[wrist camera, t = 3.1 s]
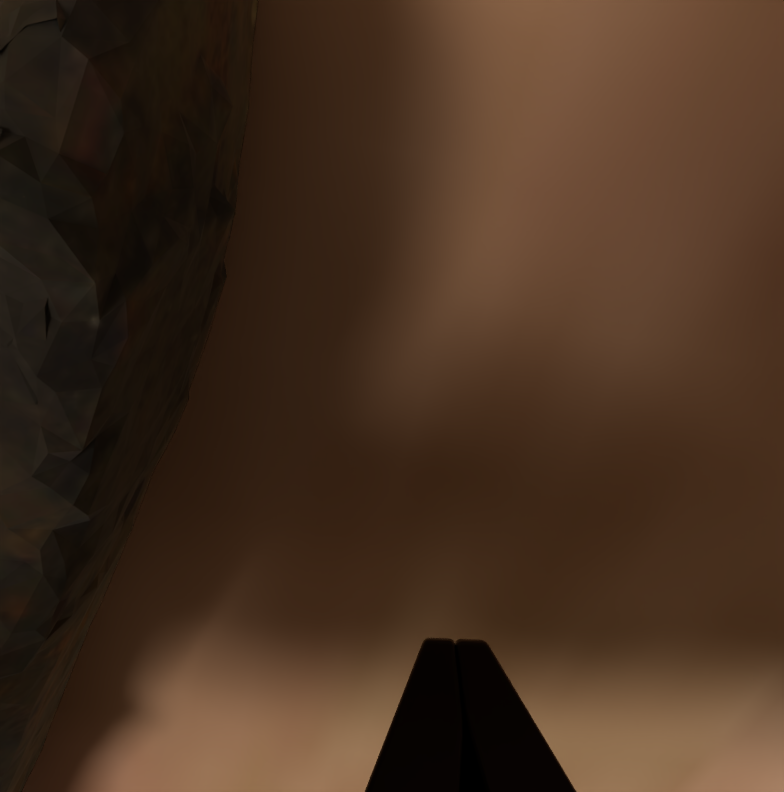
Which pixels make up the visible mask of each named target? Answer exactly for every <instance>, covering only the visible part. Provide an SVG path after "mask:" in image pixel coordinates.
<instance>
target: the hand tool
mask: <svg viewBox="0 0 784 792" xmlns="http://www.w3.org/2000/svg"><path fill="white" fill-rule="evenodd" d="M257 5H258V0H0V792H22V790H23V787H24V785H25V783H26V780H27V778H28V776H29V775H30V773H31V771H32V769H33V767H34V765H35V763H36V761H37V758H38V756H39V754H40V752H41V750H42V748H43V745H44V742H45V739H46V736H47V733H48V731H49V728H50V725H51V722H52V720H53V717H54V715H55V712H56V710H57V707H58V705H59V702H60V700H61V697H62V695H63V692H64V690H65V687H66V685H67V682H68V680H69V677H70V675H71V672H72V669H73V667H74V664H75V662H76V659H77V657H78V654H79V652H80V649H81V647H82V644H83V641H84V639H85V636H86V634H87V631H88V628H89V626H90V624H91V622H92V620H93V618H94V616H95V614H96V612H97V610H98V608H99V607H100V604H101V602H102V600H103V597H104V595H105V592H106V590H107V588H108V585H109V583H110V580H111V578H112V576H113V573H114V571H115V568H116V566H117V563H118V561H119V558H120V556H121V553H122V551H123V548H124V546H125V543H126V541H127V538H128V536H129V534H130V532H131V531H132V528H133V525H134V522H135V519H136V517H137V514H138V511H139V509H140V506H141V504H142V501H143V498H144V496H145V493H146V490H147V487H148V484H149V481H150V479H151V476H152V473H153V471H154V469H155V467H156V465H157V464H158V462H159V460H160V458H161V456H162V455H163V453H164V451H165V449H166V447H167V445H168V443H169V442H170V440H171V438H172V436H173V434H174V432H175V430H176V428H177V425H178V423H179V420H180V418H181V416H182V413H183V411H184V409H185V406H186V404H187V401H188V399H189V388H190V385H191V382H192V380H193V377H194V375H195V372H196V369H197V366H198V363H199V360H200V358H201V355H202V352H203V349H204V346H205V343H206V340H207V338H208V335H209V331H210V328H211V325H212V321H213V318H214V314H215V311H216V308H217V304H218V301H219V298H220V295H221V291H222V288H223V285H224V282H225V279H226V276H227V275H226V269H225V263H224V257H225V252H226V246H227V243H228V240H229V238H230V233H231V227H232V222H233V217H234V215H235V208H236V197H237V185H238V174H239V163H240V156H241V150H242V144H243V137H244V131H245V125H246V119H247V113H248V107H249V92H250V76H251V61H252V47H253V39H254V30H255V22H256V14H257Z"/></svg>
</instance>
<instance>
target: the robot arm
mask: <svg viewBox="0 0 784 792" xmlns="http://www.w3.org/2000/svg"><path fill="white" fill-rule="evenodd" d="M365 792H576V790H575V789H574V787H573V785H572V784H571V782H570V780H569V779H568V777H567V775H566V774H565V772H564V770H563V769H562V767H561V765H560V764H559V762H558V760H557V759H556V757H555V755H554V754H553V752H552V750H551V749H550V747H549V745H548V744H547V742H546V740H545V739H544V737H543V735H542V734H541V732H540V730H539V729H538V727H537V725H536V724H535V722H534V720H533V719H532V717H531V715H530V714H529V712H528V710H527V708H526V707H525V705H524V703H523V702H522V700H521V698H520V697H519V695H518V693H517V692H516V690H515V688H514V687H513V685H512V683H511V682H510V680H509V678H508V677H507V675H506V673H505V672H504V670H503V668H502V667H501V665H500V663H499V662H498V660H497V658H496V657H495V655H494V653H493V652H492V650H491V648H490V647H489V645H488V644H487V643H486V642H485V641H483V640H471V639H459V640H457V641H456V642H455V643H454V641H453V640H451V639H446V638H427V639H425V640H424V641H423V643H422V646H421V648H420V651H419V653H418V656H417V658H416V661H415V664H414V666H413V669H412V671H411V674H410V676H409V679H408V682H407V684H406V687H405V689H404V692H403V695H402V697H401V700H400V702H399V705H398V707H397V710H396V713H395V715H394V718H393V720H392V723H391V725H390V728H389V731H388V733H387V736H386V738H385V741H384V743H383V746H382V749H381V751H380V754H379V756H378V759H377V761H376V764H375V767H374V769H373V772H372V774H371V777H370V779H369V782H368V785H367V787H366V790H365Z"/></svg>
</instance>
